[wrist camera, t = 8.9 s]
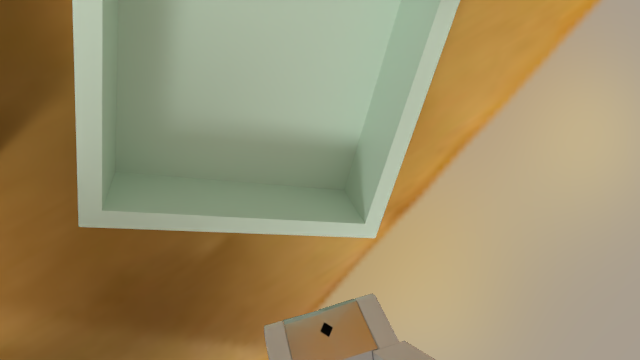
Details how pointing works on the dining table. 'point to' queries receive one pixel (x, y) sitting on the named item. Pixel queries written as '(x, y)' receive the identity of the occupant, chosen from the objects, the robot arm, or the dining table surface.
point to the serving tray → (249, 111)
